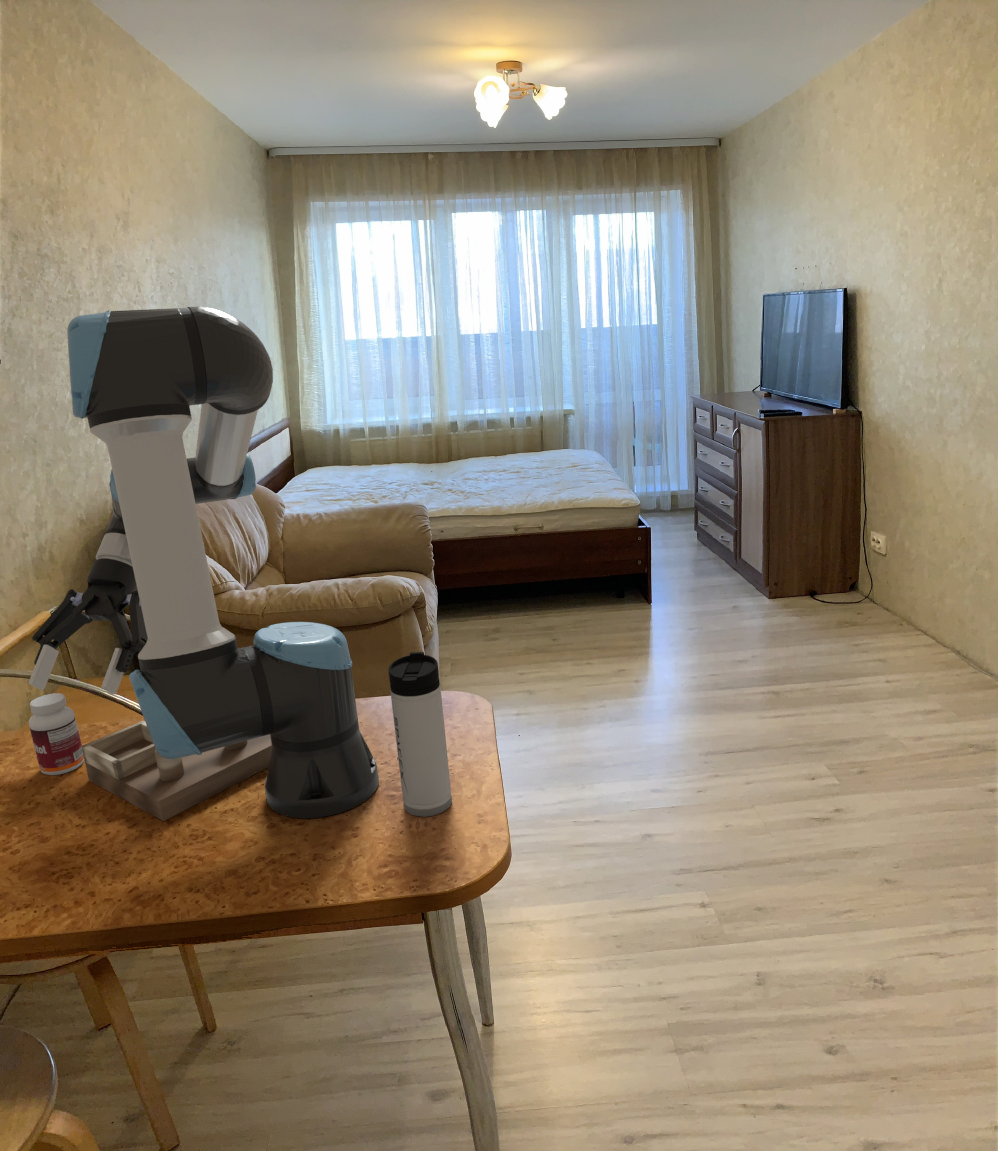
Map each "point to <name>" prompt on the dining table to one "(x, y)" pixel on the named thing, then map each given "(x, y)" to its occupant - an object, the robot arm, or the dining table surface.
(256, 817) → the dining table surface
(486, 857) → the dining table surface
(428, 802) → the travel mug
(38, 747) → the pill bottle
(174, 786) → the wooden organizer tray
